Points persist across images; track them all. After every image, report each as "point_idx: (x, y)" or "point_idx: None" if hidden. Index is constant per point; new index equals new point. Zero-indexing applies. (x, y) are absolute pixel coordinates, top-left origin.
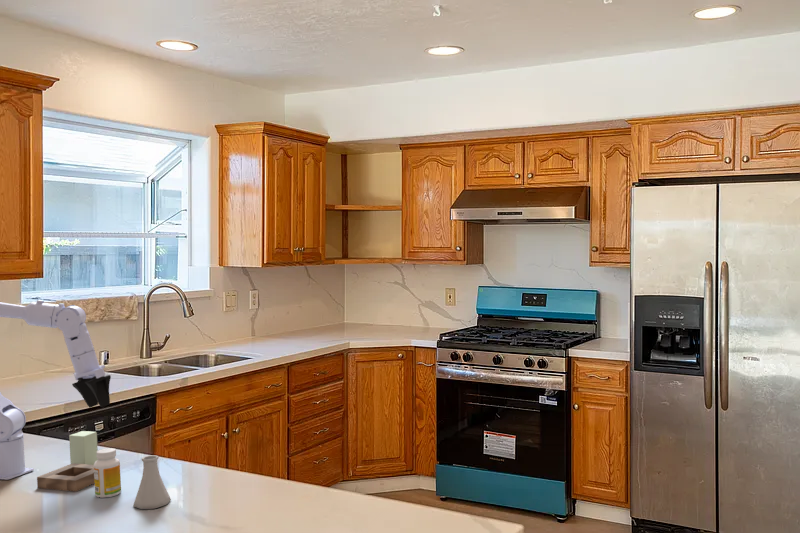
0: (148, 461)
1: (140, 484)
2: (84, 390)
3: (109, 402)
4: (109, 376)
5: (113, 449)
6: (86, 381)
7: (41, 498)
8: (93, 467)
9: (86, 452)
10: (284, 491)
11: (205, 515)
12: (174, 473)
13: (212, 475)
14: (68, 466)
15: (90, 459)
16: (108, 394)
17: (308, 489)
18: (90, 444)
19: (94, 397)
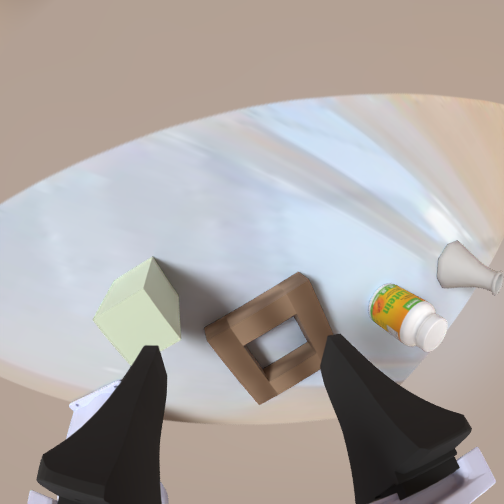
0: (498, 287)
1: (466, 286)
2: (153, 463)
3: (345, 339)
4: (468, 425)
5: (442, 322)
6: (142, 501)
7: (315, 387)
8: (286, 311)
9: (175, 307)
10: (492, 132)
11: (491, 233)
12: (376, 161)
13: (423, 129)
14: (229, 353)
15: (167, 286)
16: (371, 367)
17: (496, 115)
18: (164, 301)
19: (150, 385)
